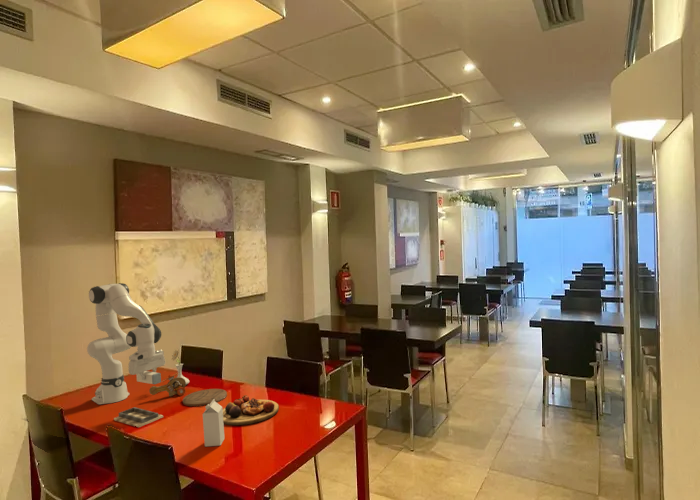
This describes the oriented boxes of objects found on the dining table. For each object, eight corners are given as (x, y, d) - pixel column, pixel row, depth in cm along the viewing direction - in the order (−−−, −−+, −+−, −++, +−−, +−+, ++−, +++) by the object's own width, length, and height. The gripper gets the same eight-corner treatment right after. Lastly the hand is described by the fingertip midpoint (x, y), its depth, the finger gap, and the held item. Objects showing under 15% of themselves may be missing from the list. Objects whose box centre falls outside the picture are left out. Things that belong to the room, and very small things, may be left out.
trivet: (233, 391, 268) (233, 388, 268) (216, 406, 243) (216, 403, 243) (194, 392, 270) (194, 389, 270) (174, 407, 245) (174, 404, 245)
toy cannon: (187, 394, 266) (186, 372, 266) (151, 402, 255) (149, 379, 255) (184, 390, 273) (183, 369, 273) (149, 399, 262) (147, 376, 262)
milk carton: (224, 438, 200) (221, 398, 200) (220, 445, 193) (217, 403, 192) (209, 439, 200) (206, 399, 199) (204, 447, 192) (201, 405, 192)
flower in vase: (172, 384, 289) (169, 347, 289) (190, 381, 293) (187, 345, 292) (170, 390, 277) (167, 351, 276) (189, 387, 280) (186, 349, 280)
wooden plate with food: (291, 408, 233) (290, 393, 233) (246, 430, 207) (245, 413, 207) (250, 400, 251) (249, 386, 251) (204, 420, 225) (203, 404, 225)
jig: (113, 420, 232) (113, 414, 231) (138, 410, 243) (138, 405, 243) (138, 427, 219) (138, 421, 219) (163, 417, 231) (162, 411, 231)
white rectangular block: (136, 381, 241) (136, 372, 241) (143, 379, 245) (142, 370, 245) (154, 384, 233) (154, 375, 233) (161, 382, 236) (160, 373, 236)
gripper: (159, 348, 249) (161, 372, 249) (125, 357, 232) (127, 383, 232) (166, 349, 246) (168, 373, 246) (132, 358, 228) (134, 384, 229)
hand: (148, 378), depth 239 cm, fingers closed on white rectangular block, 4 cm apart
